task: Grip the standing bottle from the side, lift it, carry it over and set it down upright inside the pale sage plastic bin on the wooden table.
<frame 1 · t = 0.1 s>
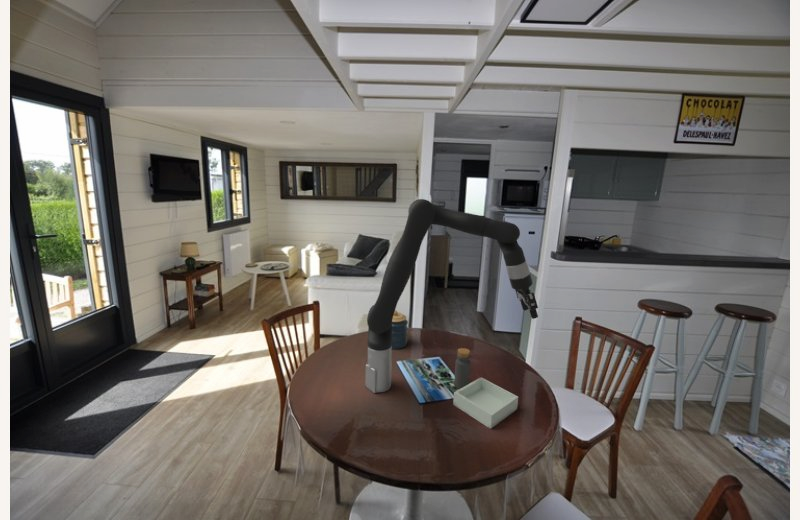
hand: (530, 313, 124), 31 cm above the table, tool tilted 20°, fingers open, 8 cm apart
bottle: (461, 385, 132), on the table
bin: (484, 406, 119), on the table
canister: (394, 344, 166), on the table
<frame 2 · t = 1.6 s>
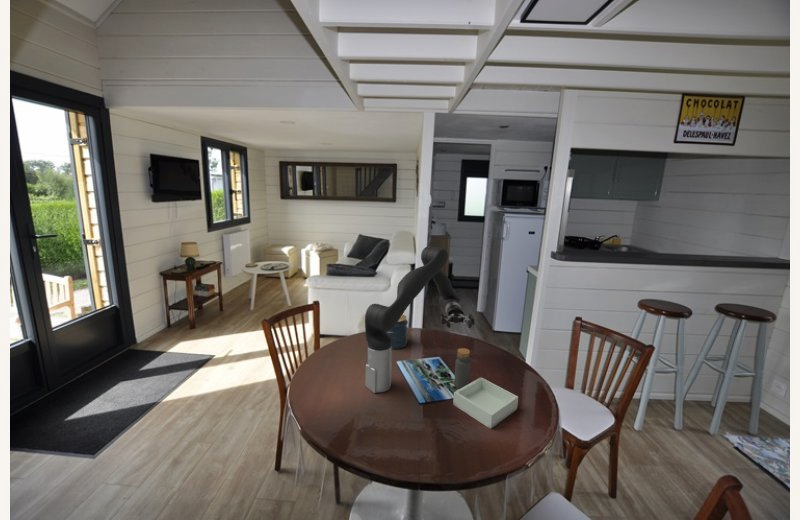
hand: (459, 326, 139), 20 cm above the table, tool horizontal, fingers open, 8 cm apart
nothing on the table moved.
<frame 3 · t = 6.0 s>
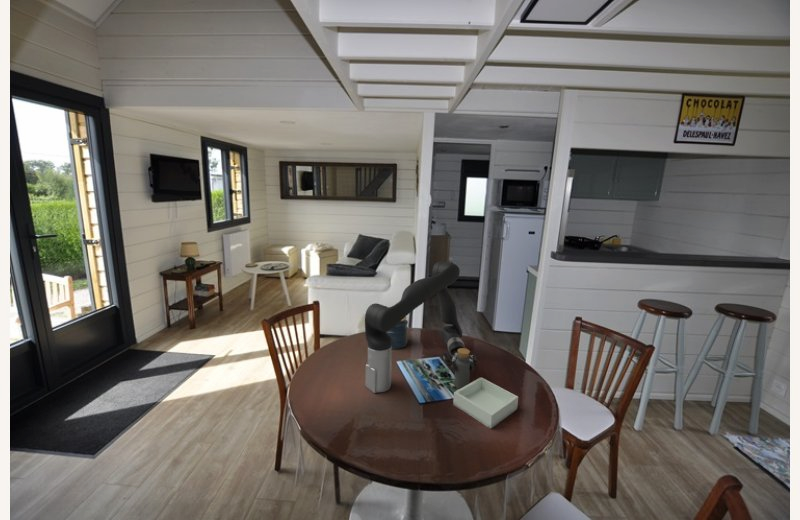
hand: (464, 369, 127), 9 cm above the table, tool horizontal, fingers closed on bottle, 5 cm apart
bottle: (461, 385, 132), on the table, touching gripper
everything else where it was.
when the fingers open (11 cm above the table, at t = 10.8 s): bottle moves 2 cm, resting on bin.
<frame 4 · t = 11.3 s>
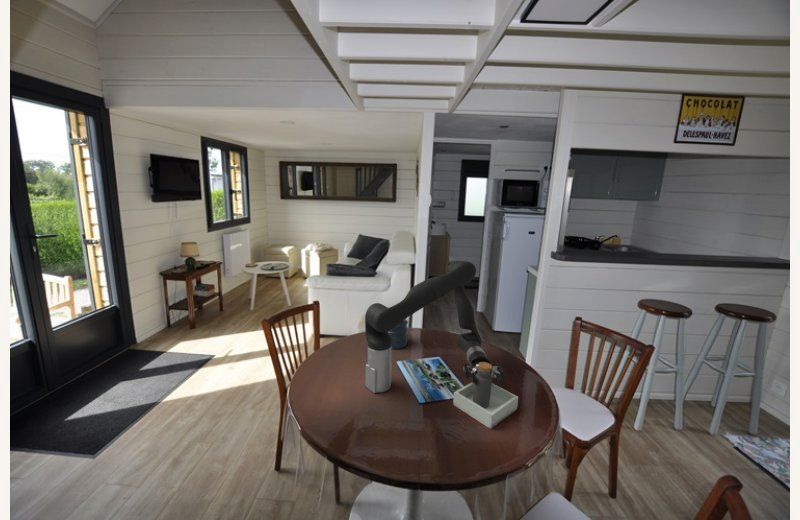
hand: (488, 382, 114), 11 cm above the table, tool horizontal, fingers open, 8 cm apart
bottle: (480, 404, 119), point 1 cm above the table, touching bin, gripper
everything else where it was.
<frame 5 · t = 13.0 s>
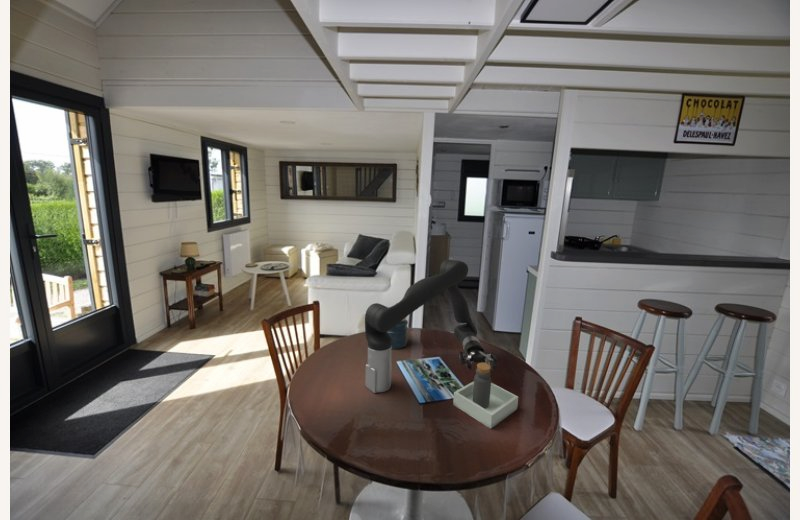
hand: (482, 368, 124), 11 cm above the table, tool horizontal, fingers open, 8 cm apart
bottle: (480, 404, 119), point 1 cm above the table, touching bin
everything else where it was.
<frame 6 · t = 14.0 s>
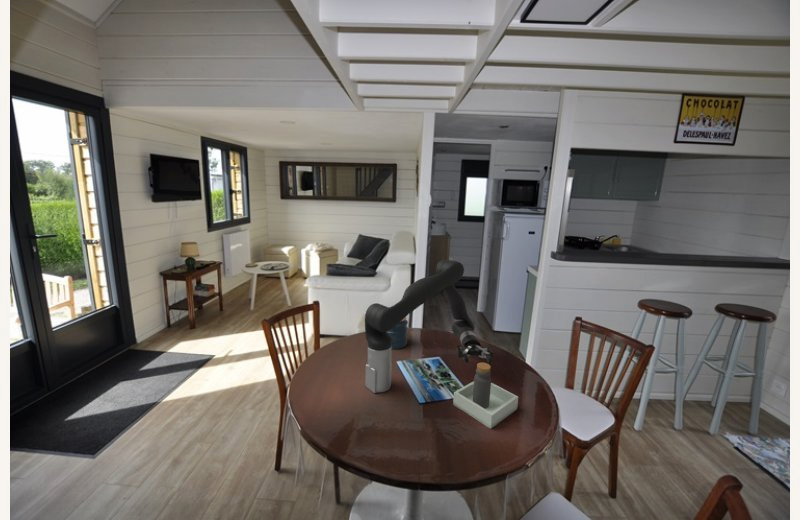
hand: (478, 361, 128), 11 cm above the table, tool horizontal, fingers open, 8 cm apart
nothing on the table moved.
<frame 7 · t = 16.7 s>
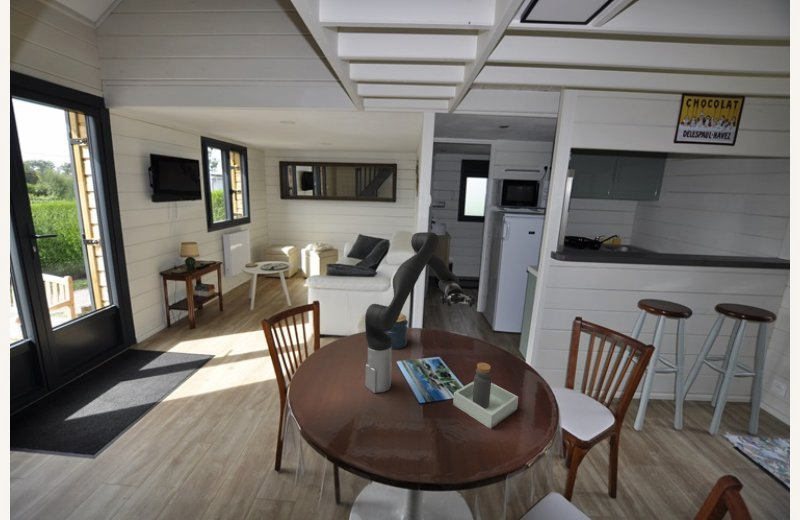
hand: (460, 304, 136), 30 cm above the table, tool horizontal, fingers open, 8 cm apart
nothing on the table moved.
at the end: bottle inside the target area on the bin (1.5 cm from its centre), point 0.8 cm above the bin's base; bottle tilted 0°; the gripper is holding nothing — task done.
